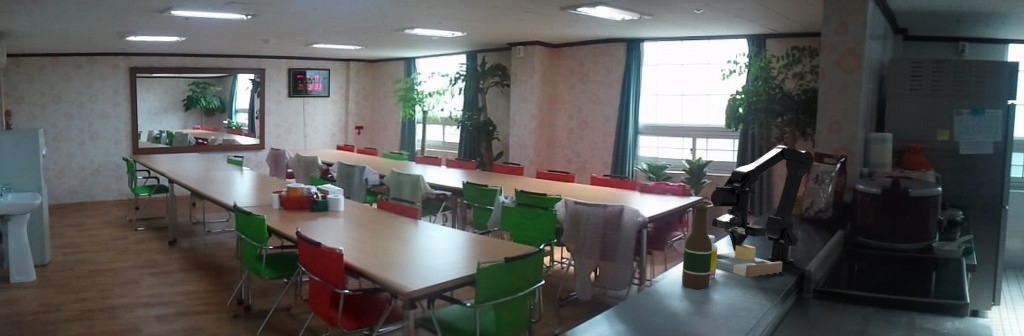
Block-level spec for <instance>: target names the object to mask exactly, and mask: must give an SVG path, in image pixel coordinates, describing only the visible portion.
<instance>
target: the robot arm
mask: <svg viewBox="0 0 1024 336" xmlns="http://www.w3.org/2000/svg"><path fill="white" fill-rule="evenodd" d="M814 160H815V159H814V156H813V154H812V153H811V151H808V150H800V149H795V148H791V147H789V146H786V145H777V146H775V147H774V148H773V149H771V150H770V151H768V152H767V153H765V154H764V155H762V156H761V157H759V158H758V159H756V160H755V161H754V162H752V163H749V164H748V165H747V164H746V165H742V166H739V167H737V168H735V169H733V170H732V171H731V173H730V174H731V175H730V176H729V177H728V178H727V181H725V183H724V185H723V186H716V187H715V189H714V190H713V191H712V193H711V195H710V202H711V204H712V205H713V207H714V208H715V207H716V208H720V207H721V208H722V207H723V208H728V209H727V213H726V214H725V213H724V214H723V215H721V216H719V217H713V219H711V220H712V221H711V227H715V228H719V229H722V230H723V229H724V232H725V233H726V234H727V235H728V236H729V238H730V242H731V246H732V249H733V252H735V249H736V245H744V244H743V243H744V242H745V241H746V239H747V238H748V237H749V236H750V237H755V238H757V237H758V238H759V237H766V234H767V240H768V241H769V242H772V244H771V251H770V256H767V257H766V259H768V260H771V261H774V262H783V263H782V264H784V263H791V262H790V261H792V262H795V259H792V258H791V255H792V253H791V252H792V247H794V246H797V244H798V241H799V239H798V238H797V236H796V235H795V234H794V232H793V230H794V222H793V219H792V214H793V210H794V208H795V204H796V201H797V198H798V194H799V192H800V191H799V190H800V187H801V184H802V180H803V177H804V176H805V175H806V174H807V173H808V172H809V171H810V170H811V167H812V165H813V163H814ZM782 161H786V162H785V168H786V172H787V174H786V177H785V181H784V185H783V187H782V192H781V196H780V199H779V201H778V205H777V208H776V212H775V213H774V214H773V215H768V217H767V222H766V224H765V225H764V227H763V226H761V225H760V226H759V225H751V222H750V221H749V214H752V210H751V209H750V203H751V202H750V200H751V194H753V195H754V194H755V195H756V193H757V192H756V190H754V188H753V186H754V185H755V184H756V183H757V182H758V181H759V180H760V176H761V175H762V174H764V173H766V172H767V171H769V170H770V169H772V168H774V166H776V165H778V164H780V163H781V162H782Z"/></svg>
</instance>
